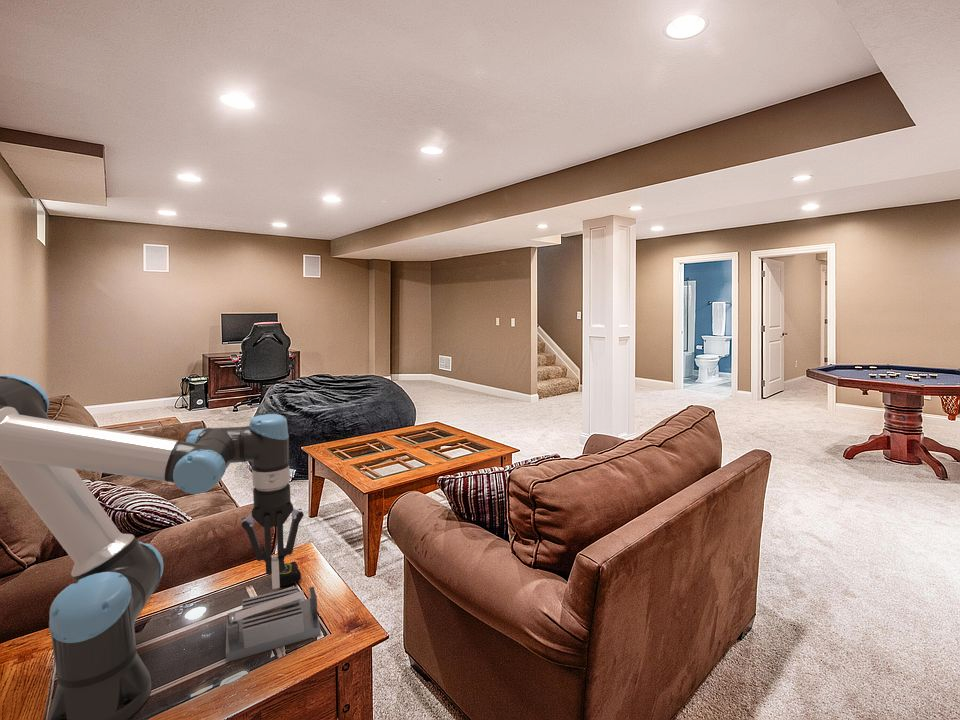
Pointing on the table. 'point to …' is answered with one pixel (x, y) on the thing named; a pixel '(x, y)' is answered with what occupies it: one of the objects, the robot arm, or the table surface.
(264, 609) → the grey flat bar
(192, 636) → the table surface
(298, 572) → the tape measure
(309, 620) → the heatsink
